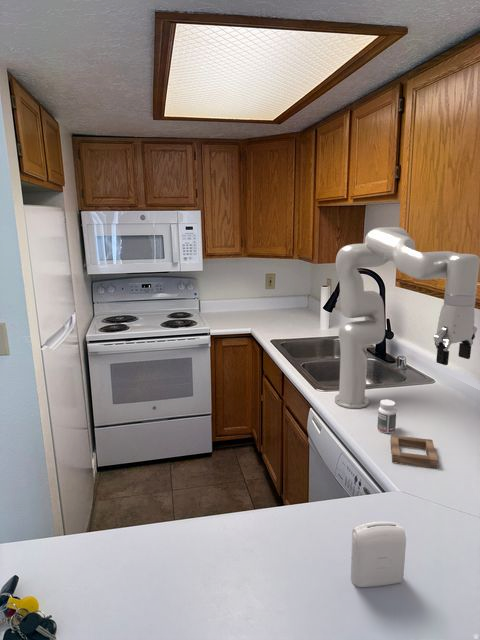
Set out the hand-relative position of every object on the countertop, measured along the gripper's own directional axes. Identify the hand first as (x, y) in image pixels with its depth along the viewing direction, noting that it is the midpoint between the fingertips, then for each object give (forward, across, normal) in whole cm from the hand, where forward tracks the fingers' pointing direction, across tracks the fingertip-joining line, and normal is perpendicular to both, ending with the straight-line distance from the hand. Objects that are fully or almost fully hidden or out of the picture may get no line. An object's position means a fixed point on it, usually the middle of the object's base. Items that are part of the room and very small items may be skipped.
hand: (453, 360), depth 119 cm
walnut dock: (+30, +6, -6) cm, 31 cm away
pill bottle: (+30, +1, -20) cm, 36 cm away
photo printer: (+30, +50, +21) cm, 62 cm away
